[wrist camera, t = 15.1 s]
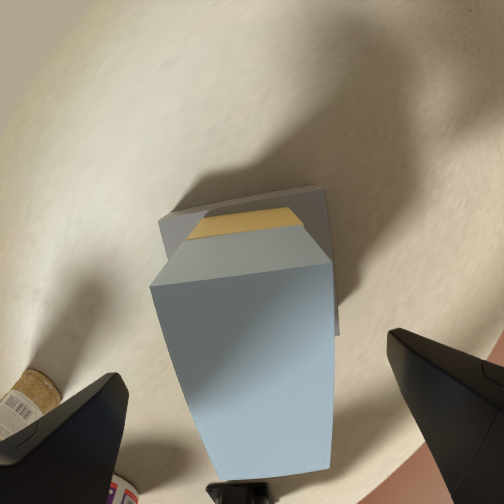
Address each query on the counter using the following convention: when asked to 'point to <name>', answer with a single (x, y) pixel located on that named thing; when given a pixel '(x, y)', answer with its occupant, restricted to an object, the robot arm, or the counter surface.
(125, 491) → the pill bottle
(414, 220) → the counter surface
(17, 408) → the sprinkles bottle
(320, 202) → the base slab
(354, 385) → the counter surface
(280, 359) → the blue brick
